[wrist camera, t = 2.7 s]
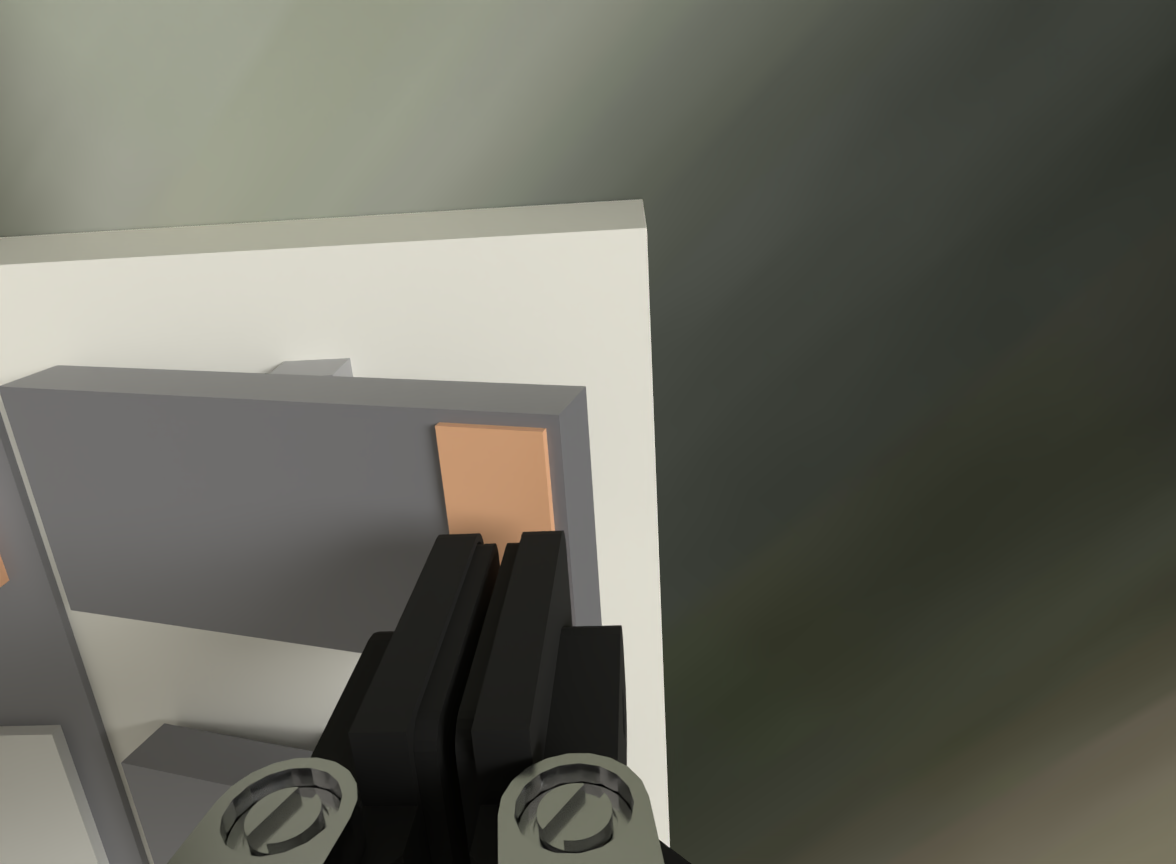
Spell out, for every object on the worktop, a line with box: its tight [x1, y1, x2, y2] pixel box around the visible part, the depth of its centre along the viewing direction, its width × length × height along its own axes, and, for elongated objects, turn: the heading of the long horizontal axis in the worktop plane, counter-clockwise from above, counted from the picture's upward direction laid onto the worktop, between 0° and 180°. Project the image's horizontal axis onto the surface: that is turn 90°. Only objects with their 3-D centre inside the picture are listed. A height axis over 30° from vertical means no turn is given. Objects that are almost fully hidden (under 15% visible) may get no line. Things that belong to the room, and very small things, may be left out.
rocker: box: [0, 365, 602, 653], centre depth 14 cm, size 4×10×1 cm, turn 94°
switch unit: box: [0, 199, 670, 864], centre depth 21 cm, size 24×18×5 cm
